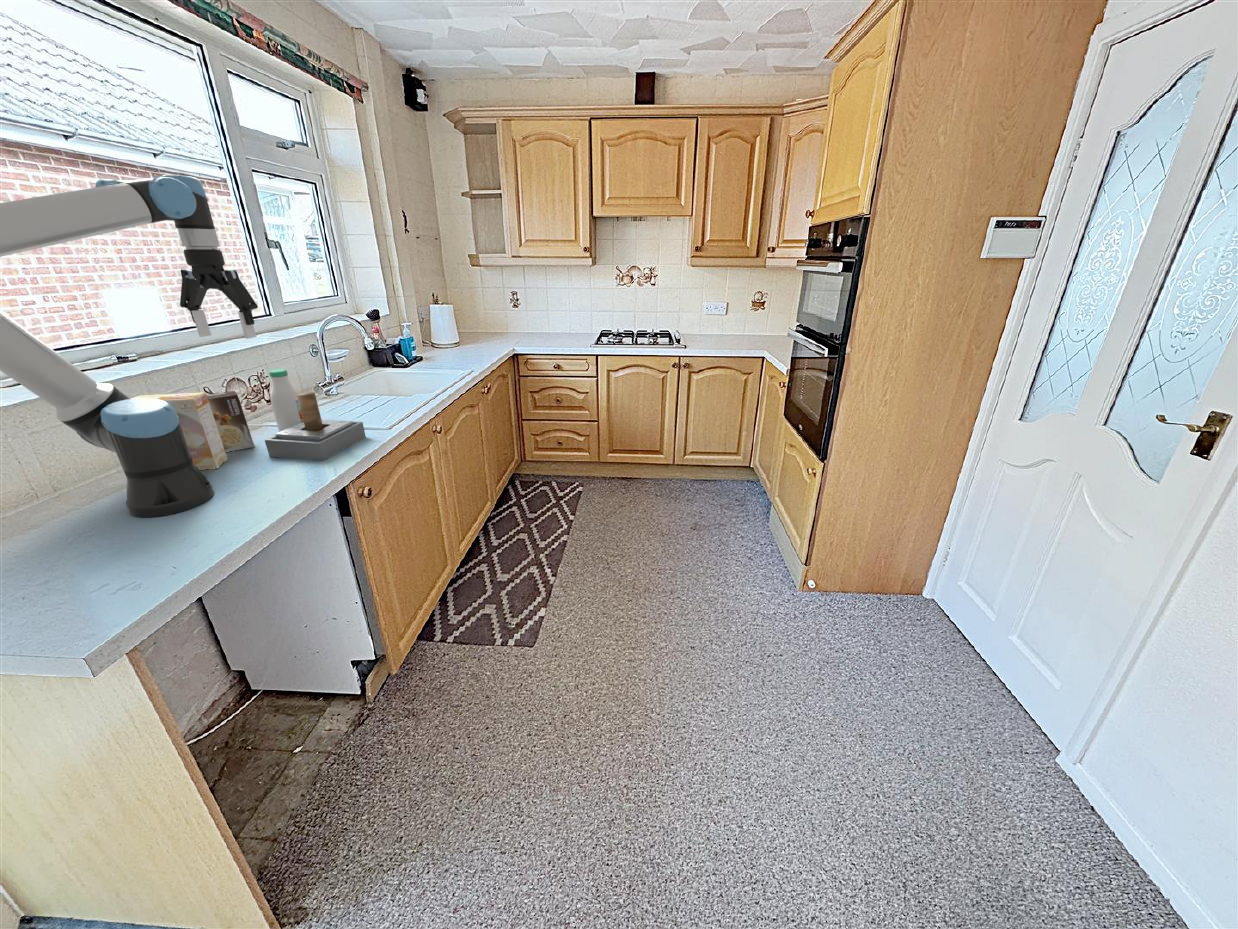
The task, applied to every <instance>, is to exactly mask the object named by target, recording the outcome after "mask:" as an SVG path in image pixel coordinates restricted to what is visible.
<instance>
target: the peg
mask: <svg viewBox="0 0 1238 929" xmlns="http://www.w3.org/2000/svg"><path fill="white" fill-rule="evenodd" d="M297 398H298V402H299V406H300V410H301V414H302V418H303V421H304V425H305V429H306V431H319V430H321V429H323V424H322V420H321V419H322V417H321V412H320V408H319V404H318V400H317V396H316V393H315V392H314V391H305V392H300V393H299V392H298V394H297Z"/></svg>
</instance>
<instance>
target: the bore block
mask: <svg viewBox="0 0 1238 929" xmlns="http://www.w3.org/2000/svg"><path fill="white" fill-rule="evenodd" d="M321 420H322V424H323V429H321V430H319V431H306V429H305V425H304V422H302V423H299V424H297V425H295V426H292V427H290V428H288V429H285V430H283V431H281V432H279V431H278V432H276V433H275V434H274V436H275V435H276V438H277V439H279V440H294V441H308V442H320V441H322V440H324V439H326V438H328V437H330V436H332V435H334V434H336V433H338V432H340V431H342V430H344V429H346V428H348V427H350V426H352V425H353V422H352V421H353V420H341V419H340V420H339V419H324V418H323V419H322V418H321Z"/></svg>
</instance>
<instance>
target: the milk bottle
mask: <svg viewBox="0 0 1238 929" xmlns="http://www.w3.org/2000/svg"><path fill="white" fill-rule="evenodd" d="M268 375H269V378H270V379H271V383H272V384H271V389H270V394H269V396H270V403H271V407H272V411H273V415H274V418H275V423H276V426H277V430H278V432H281V431H283V430H285V429H288V428H290V427H292V426H295V425H297V424H299V423H302V422H304V421H303V418H302V414H301V410H300V406H299V402H298V398H297V394H299V392H298V391H297V389H296V388H295V387H294V386H293V384H292V383H291V382H290V379H289V376H288V375H289V374H288V370H287V369H284V368H280V369H279V368H277V369H271V370H269V372H268Z"/></svg>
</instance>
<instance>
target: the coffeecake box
mask: <svg viewBox="0 0 1238 929" xmlns="http://www.w3.org/2000/svg"><path fill="white" fill-rule="evenodd" d="M207 395H208V394H207V393H206V392H205V391H202V392H184V393H180V392H179V393H163V394H145V395H144V394H143V395H137V396H135V397H132V398H131V399H136V398H146V399H152V398H153V399H160V400H163V401H166V402H168V403H169V404H171V405H172V407H173V408H174V411H175V413H176V414H177V415H178V417H179V423H180V426H181V429H182V431H183V434H184V437H185V440H186V443H187V446H188V448H189V451H190V454H191V457H192V460H193V463H194V465H195V466H196V467H197V468H198V469H199V470H200V471H207V470H206V469H209V470H215V469H214V468H217V467H218V466H220V465H221V464H222V463H223V462H224V463H225V462H226V461H227V460H228V457H227V453H225V450H224V447H223V444H222V441H221V438H220V435H219V432H218V429H217V426H216V423H215V419H214V416H213V413H212V410H211V407H210V404H209V401H208V398H207ZM224 463H223V464H224ZM223 464H222V465H223ZM222 465H221V466H222ZM221 466H220V467H221ZM218 468H219V467H218ZM218 468H217V469H218Z"/></svg>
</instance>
